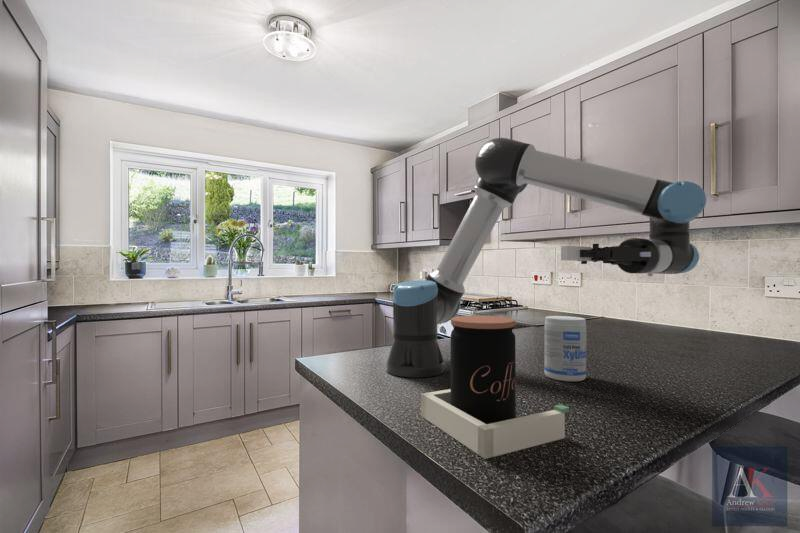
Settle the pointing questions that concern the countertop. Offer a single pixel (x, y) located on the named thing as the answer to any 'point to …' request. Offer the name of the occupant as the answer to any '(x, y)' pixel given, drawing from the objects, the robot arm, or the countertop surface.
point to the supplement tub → (565, 348)
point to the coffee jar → (483, 367)
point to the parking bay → (492, 426)
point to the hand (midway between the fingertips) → (564, 253)
